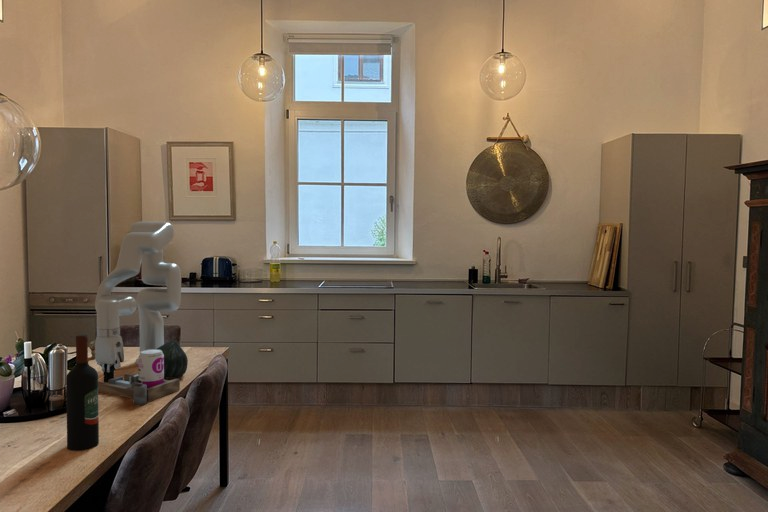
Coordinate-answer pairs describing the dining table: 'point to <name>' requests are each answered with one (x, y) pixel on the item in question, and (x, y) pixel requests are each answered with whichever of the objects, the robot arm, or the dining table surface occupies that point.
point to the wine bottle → (82, 401)
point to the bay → (140, 389)
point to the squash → (174, 360)
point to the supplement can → (151, 367)
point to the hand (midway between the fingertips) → (108, 381)
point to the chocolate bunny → (92, 348)
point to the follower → (120, 381)
